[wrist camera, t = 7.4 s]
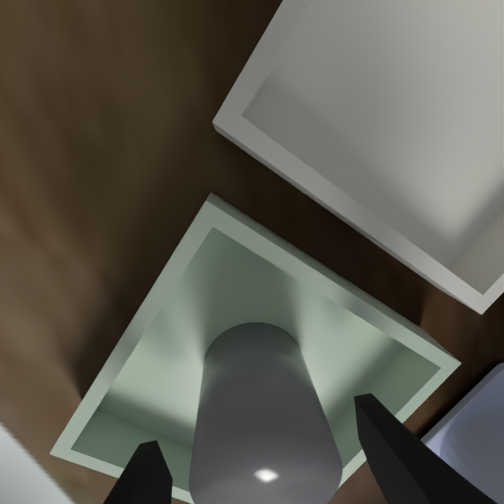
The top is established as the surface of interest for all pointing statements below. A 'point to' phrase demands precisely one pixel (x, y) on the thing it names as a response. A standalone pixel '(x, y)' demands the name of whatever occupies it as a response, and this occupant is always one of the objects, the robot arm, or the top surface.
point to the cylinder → (261, 424)
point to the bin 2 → (235, 313)
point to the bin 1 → (388, 127)
